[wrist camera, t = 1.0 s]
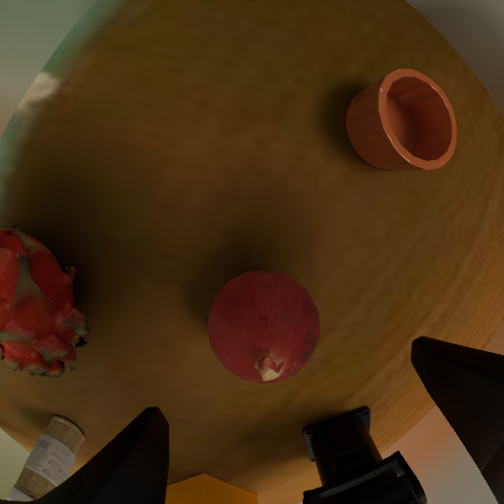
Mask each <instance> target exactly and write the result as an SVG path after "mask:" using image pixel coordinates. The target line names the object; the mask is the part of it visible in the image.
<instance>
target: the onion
mask: <svg viewBox="0 0 504 504" xmlns="http://www.w3.org/2000/svg"><path fill="white" fill-rule="evenodd" d="M207 324H208V330H209V337H210V345H211V348H212V350H213V351H214V353H215V354H216V356H217V357H218V359H219V360H220V361H221V363H222V364H223V366H224V367H225V368H226V369H228V370H229V371H231V372H232V373H234V374H235V375H237V376H239V377H240V378H242V379H245V380H248V381H253V382H257V383H268V382H277V381H280V380H283V379H286V378H289V377H291V376H293V375H294V374H295V373H297V372H298V371H299V370H300V369H301V368H302V367H303V366H304V365H305V364H307V363H308V361H309V359H310V357H311V355H312V353H313V351H314V349H315V347H316V345H317V343H318V341H319V337H320V328H319V312H318V310H317V307H316V305H315V304H314V302H313V300H312V299H311V297H310V295H309V294H308V292H307V290H306V289H305V288H304V287H303V286H301V285H300V284H298V283H297V282H296V281H294V280H293V279H291V278H290V277H288V276H286V275H284V274H280V273H276V272H273V271H269V270H260V271H252V272H245V273H243V274H241V275H240V276H238V277H236V278H234V279H232V280H230V281H228V282H227V283H226V284H225V285H224V286H223V288H222V289H221V290H220V291H219V293H218V294H217V295H216V296H215V298H214V300H213V303H212V306H211V309H210V313H209V316H208V320H207Z"/></svg>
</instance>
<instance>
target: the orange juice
mask: <svg viewBox="0 0 504 504" xmlns="http://www.w3.org/2000/svg"><path fill="white" fill-rule="evenodd" d="M165 504H258V502H257V494H256V493H253V492H250V491H247V490H244V489H241V488H239V487H236V486H234V485H231V484H229V483H226V482H224V481H221V480H219V479H217V478H214V477H212V476H210V475H207V474H205V473H202V474H199V475H197V476H194V477H191V478H189V479H186V480H183V481H180V482H177V483H174V484H171V485H168V486H167V490H166V501H165Z"/></svg>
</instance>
